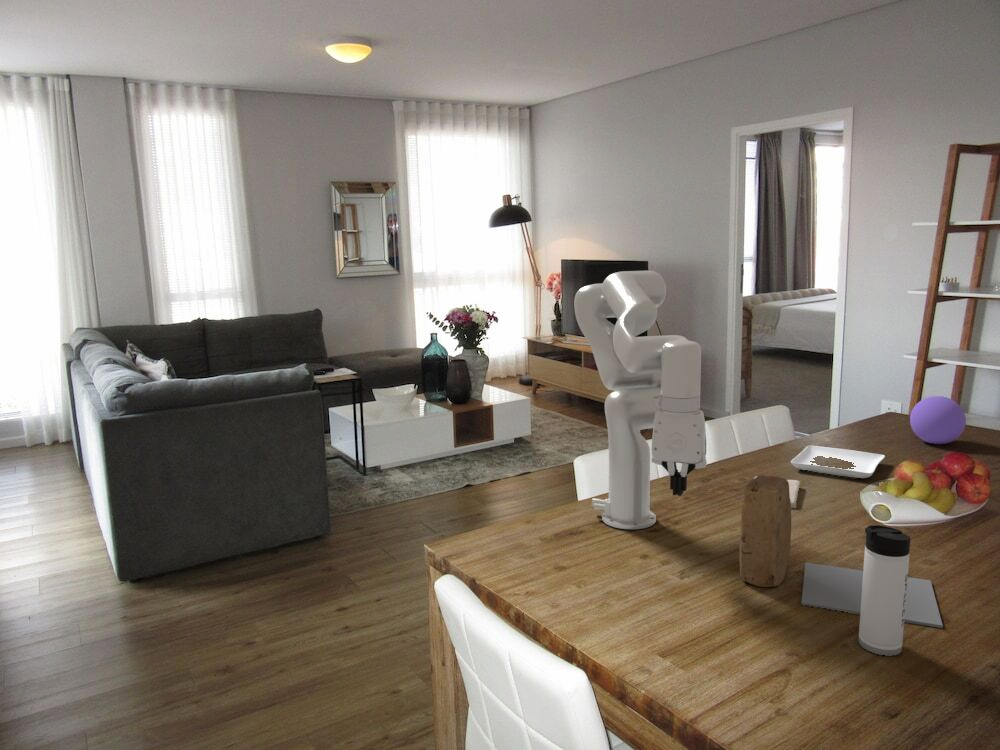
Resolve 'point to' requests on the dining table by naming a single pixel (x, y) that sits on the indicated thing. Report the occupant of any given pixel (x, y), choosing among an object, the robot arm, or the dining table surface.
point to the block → (765, 531)
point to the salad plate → (861, 460)
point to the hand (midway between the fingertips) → (678, 493)
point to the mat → (845, 593)
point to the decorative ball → (937, 420)
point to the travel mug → (884, 590)
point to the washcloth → (793, 491)
